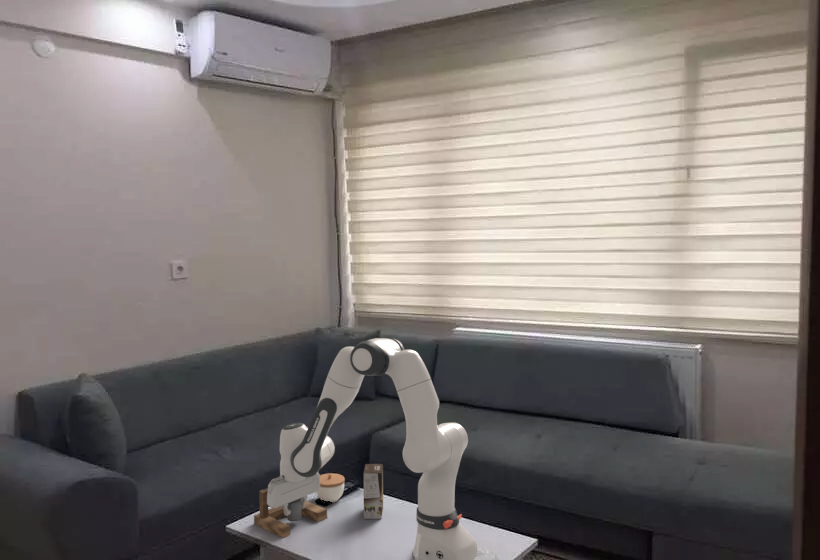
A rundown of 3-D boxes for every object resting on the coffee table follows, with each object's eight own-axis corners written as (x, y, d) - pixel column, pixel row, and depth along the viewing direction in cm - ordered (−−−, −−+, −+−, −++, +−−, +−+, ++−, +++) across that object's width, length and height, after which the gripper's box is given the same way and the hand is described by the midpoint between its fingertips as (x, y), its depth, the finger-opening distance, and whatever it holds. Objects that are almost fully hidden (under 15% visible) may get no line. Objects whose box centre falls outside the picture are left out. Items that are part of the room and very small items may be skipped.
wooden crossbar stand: (327, 517, 234) (326, 483, 233) (282, 537, 220) (282, 501, 218) (298, 505, 244) (297, 472, 242) (254, 524, 229) (253, 489, 228)
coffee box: (382, 519, 233) (381, 473, 231) (363, 519, 233) (362, 473, 231) (383, 507, 242) (383, 463, 240) (365, 507, 242) (365, 463, 241)
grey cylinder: (304, 518, 230) (303, 500, 229) (293, 522, 226) (293, 505, 226) (295, 514, 233) (295, 497, 232) (284, 518, 229) (284, 501, 229)
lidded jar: (328, 508, 241) (327, 482, 241) (309, 499, 249) (308, 474, 248) (351, 499, 249) (350, 474, 248) (331, 491, 257) (331, 466, 256)
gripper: (274, 483, 218) (275, 525, 219) (322, 465, 233) (323, 504, 235) (262, 478, 222) (263, 519, 224) (310, 461, 238) (311, 499, 239)
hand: (294, 511), depth 229 cm, fingers closed on grey cylinder, 5 cm apart
